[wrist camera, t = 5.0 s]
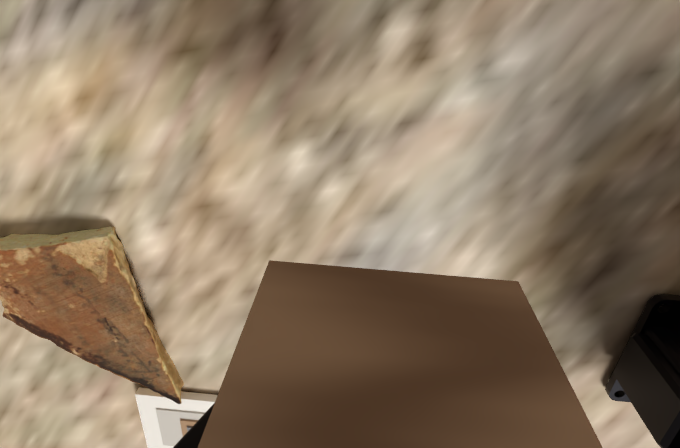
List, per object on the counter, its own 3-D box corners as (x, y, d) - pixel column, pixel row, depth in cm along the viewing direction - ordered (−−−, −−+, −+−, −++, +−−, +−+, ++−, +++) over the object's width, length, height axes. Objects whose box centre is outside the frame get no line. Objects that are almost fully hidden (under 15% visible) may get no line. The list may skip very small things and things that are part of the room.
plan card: (258, 398, 25) (255, 411, 24) (261, 455, 27) (258, 468, 27) (139, 387, 25) (132, 399, 24) (152, 444, 28) (146, 457, 27)
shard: (191, 383, 25) (179, 409, 24) (70, 387, 26) (51, 413, 25) (127, 219, 20) (107, 239, 19) (-19, 231, 21) (-51, 250, 20)
